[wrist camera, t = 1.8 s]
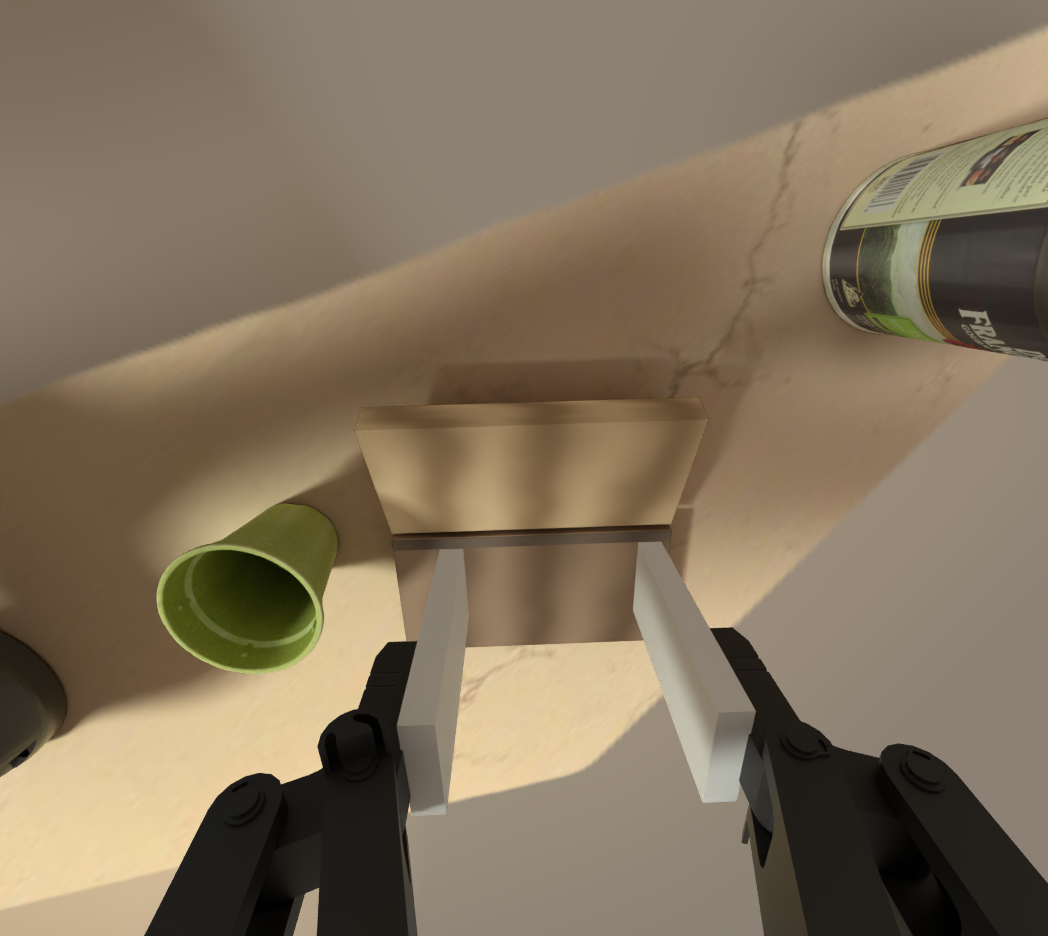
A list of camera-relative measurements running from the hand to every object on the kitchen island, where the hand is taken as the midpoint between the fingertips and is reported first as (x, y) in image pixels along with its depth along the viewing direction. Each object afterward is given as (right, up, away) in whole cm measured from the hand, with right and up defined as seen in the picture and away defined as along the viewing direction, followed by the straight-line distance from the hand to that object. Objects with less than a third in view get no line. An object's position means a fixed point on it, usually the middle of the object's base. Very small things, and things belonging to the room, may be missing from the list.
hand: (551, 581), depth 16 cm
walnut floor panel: (0, -5, +22) cm, 23 cm away
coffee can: (+23, +17, +14) cm, 32 cm away
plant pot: (-18, -1, +21) cm, 27 cm away
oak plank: (0, +4, +16) cm, 17 cm away
